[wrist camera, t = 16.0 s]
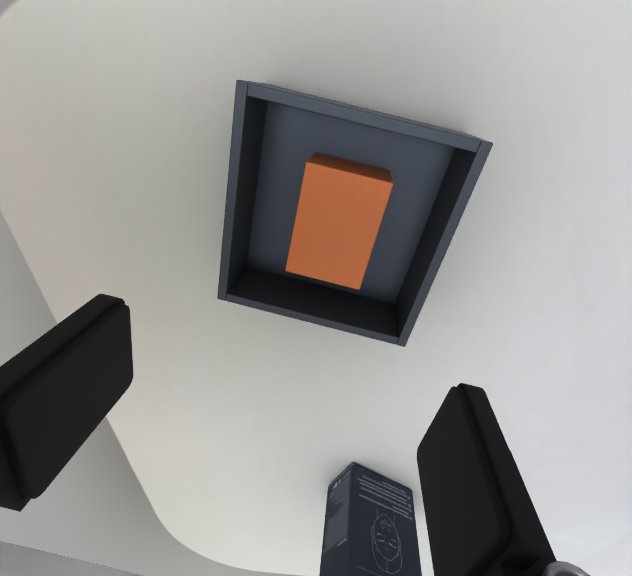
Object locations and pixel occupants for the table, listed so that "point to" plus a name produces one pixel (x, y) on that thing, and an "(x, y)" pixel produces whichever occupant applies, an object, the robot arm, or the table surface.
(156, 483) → the table surface
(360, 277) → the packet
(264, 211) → the tray
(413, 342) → the table surface
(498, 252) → the table surface
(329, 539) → the box
